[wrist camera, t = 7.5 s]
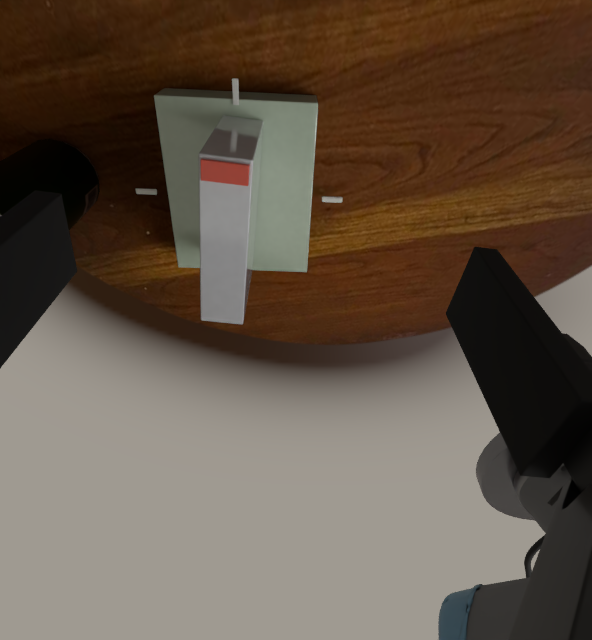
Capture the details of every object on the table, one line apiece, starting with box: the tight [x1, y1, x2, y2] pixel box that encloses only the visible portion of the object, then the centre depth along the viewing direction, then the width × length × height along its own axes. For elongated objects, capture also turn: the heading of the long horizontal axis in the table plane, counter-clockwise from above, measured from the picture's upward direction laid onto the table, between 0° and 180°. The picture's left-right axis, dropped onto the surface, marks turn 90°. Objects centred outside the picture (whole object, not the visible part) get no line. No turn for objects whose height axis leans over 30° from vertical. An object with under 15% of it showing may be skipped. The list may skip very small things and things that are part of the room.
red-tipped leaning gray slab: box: [198, 115, 264, 324], centre depth 26 cm, size 10×3×8 cm, turn 173°
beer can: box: [0, 139, 100, 230], centre depth 26 cm, size 5×5×12 cm
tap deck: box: [135, 78, 342, 272], centre depth 30 cm, size 14×14×3 cm
